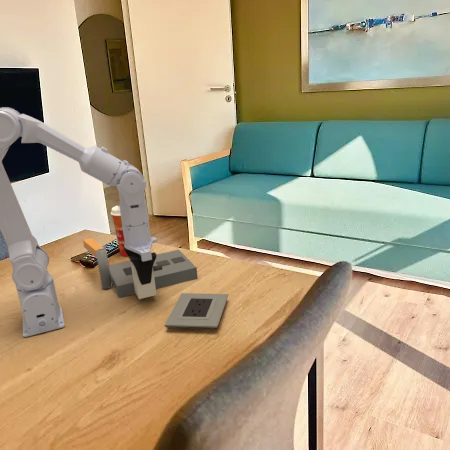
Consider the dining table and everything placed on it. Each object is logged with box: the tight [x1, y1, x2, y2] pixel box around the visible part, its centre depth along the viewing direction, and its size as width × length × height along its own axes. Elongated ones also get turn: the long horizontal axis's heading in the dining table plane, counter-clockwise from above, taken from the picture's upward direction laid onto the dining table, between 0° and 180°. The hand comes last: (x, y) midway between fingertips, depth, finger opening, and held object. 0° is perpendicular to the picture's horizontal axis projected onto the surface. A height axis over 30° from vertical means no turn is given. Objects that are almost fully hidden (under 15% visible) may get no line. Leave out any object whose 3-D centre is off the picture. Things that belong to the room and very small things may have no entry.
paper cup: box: [110, 205, 129, 258], centre depth 126 cm, size 8×8×14 cm
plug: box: [131, 262, 162, 300], centre depth 99 cm, size 4×6×8 cm, turn 114°
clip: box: [82, 237, 113, 290], centre depth 109 cm, size 12×2×10 cm, turn 34°
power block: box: [109, 249, 199, 299], centre depth 111 cm, size 14×20×3 cm
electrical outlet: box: [164, 292, 229, 330], centre depth 91 cm, size 13×10×2 cm
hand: (143, 279), depth 98 cm, fingers closed on plug, 4 cm apart
